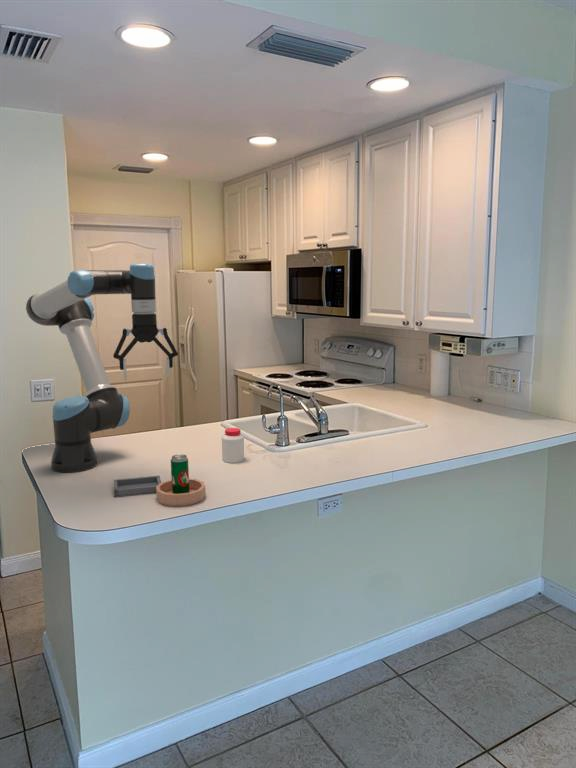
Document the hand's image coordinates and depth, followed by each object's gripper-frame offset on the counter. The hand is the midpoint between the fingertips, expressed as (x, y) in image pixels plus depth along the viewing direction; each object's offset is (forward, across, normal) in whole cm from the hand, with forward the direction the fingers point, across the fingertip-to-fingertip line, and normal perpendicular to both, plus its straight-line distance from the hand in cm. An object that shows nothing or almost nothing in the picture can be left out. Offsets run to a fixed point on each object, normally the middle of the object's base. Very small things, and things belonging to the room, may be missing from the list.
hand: (147, 378), depth 193 cm
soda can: (+31, +7, -26) cm, 41 cm away
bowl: (+32, +7, -26) cm, 42 cm away
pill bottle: (+32, +29, +6) cm, 44 cm away
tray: (+32, -5, -15) cm, 35 cm away
